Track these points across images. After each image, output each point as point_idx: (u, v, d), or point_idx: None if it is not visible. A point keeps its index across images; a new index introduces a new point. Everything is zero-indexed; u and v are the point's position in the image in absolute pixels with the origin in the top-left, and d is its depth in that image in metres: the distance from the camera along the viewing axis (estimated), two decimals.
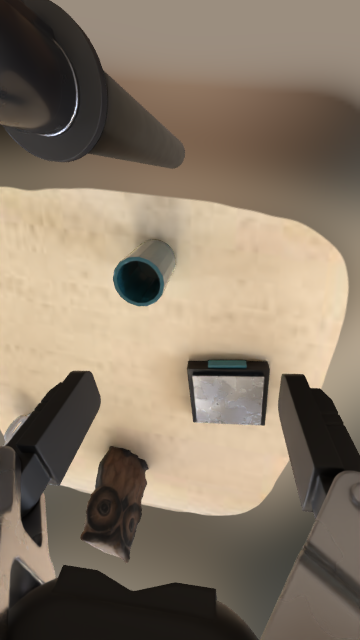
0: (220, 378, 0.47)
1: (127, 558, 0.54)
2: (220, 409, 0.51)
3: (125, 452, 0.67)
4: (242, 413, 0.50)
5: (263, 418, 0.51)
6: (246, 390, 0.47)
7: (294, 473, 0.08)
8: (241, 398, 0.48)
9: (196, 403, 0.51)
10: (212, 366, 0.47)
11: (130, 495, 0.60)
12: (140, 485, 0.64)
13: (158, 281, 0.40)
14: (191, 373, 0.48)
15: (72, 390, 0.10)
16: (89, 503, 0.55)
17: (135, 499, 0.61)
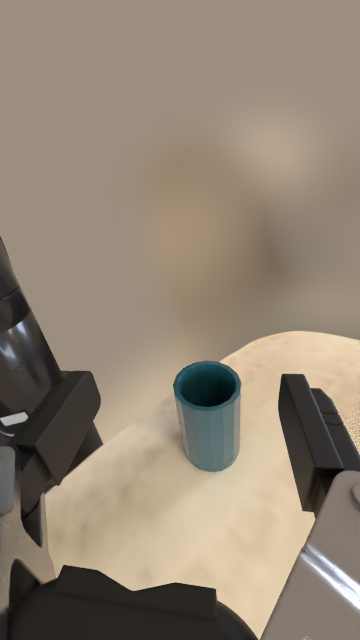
0: None
1: None
2: None
3: None
4: None
5: None
6: None
7: (294, 473, 0.08)
8: None
9: None
10: None
11: None
12: None
13: None
14: None
15: (72, 390, 0.10)
16: None
17: None
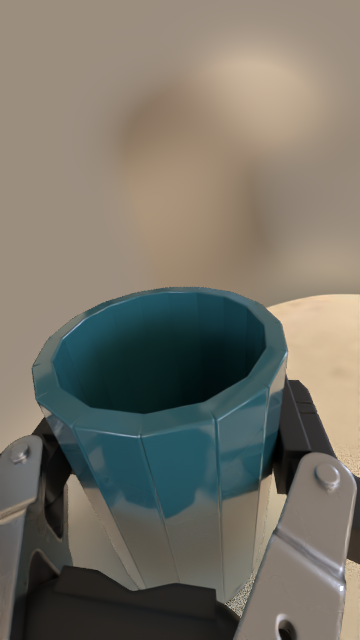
0: None
1: None
2: None
3: None
4: None
5: None
6: None
7: None
8: None
9: None
10: None
11: None
12: None
13: None
14: None
15: None
16: None
17: None
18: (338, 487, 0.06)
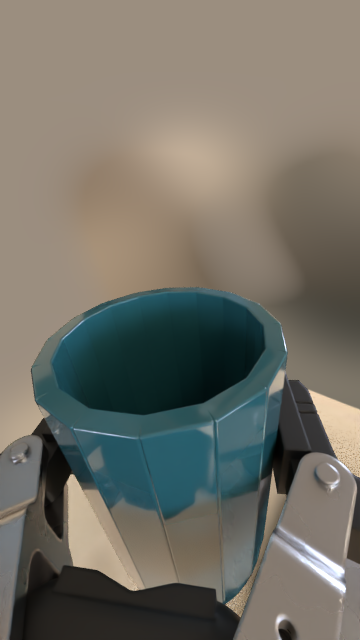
0: None
1: None
2: None
3: None
4: None
5: None
6: None
7: None
8: None
9: None
10: None
11: None
12: None
13: None
14: None
15: None
16: None
17: None
18: (338, 487, 0.06)
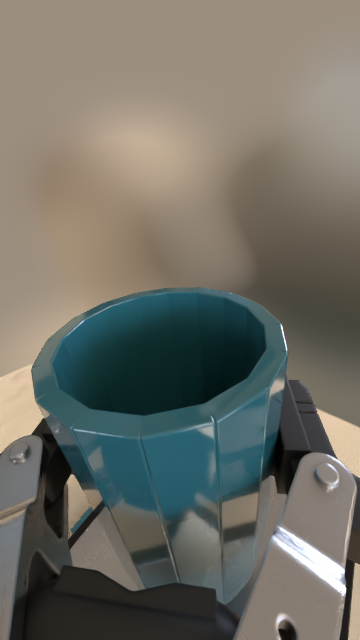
0: None
1: None
2: None
3: None
4: (267, 538, 0.15)
5: None
6: None
7: None
8: None
9: None
10: (82, 520, 0.18)
11: None
12: None
13: None
14: None
15: None
16: None
17: None
18: (338, 487, 0.06)
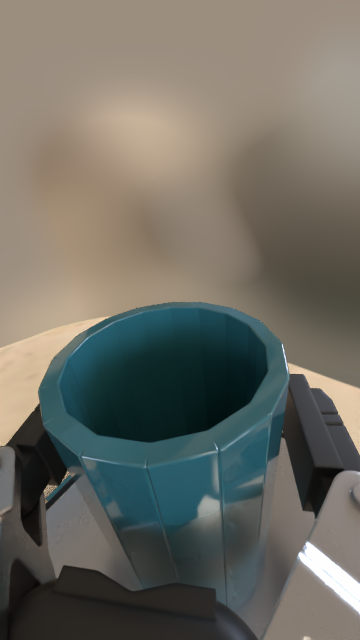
0: None
1: None
2: None
3: None
4: (276, 501, 0.12)
5: None
6: None
7: (294, 473, 0.08)
8: None
9: None
10: (60, 488, 0.15)
11: None
12: None
13: None
14: None
15: None
16: None
17: None
18: None
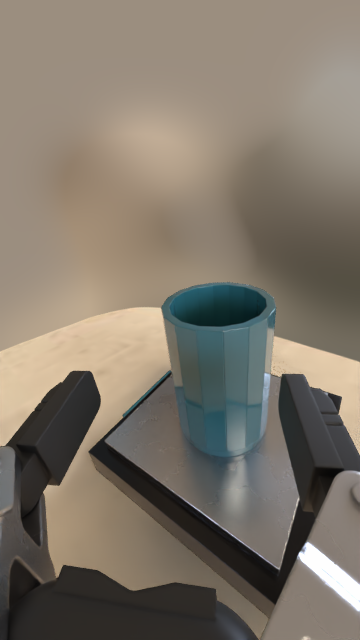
0: (153, 398, 0.22)
1: None
2: None
3: None
4: (273, 407, 0.20)
5: None
6: None
7: (294, 473, 0.08)
8: None
9: (183, 493, 0.15)
10: (130, 410, 0.23)
11: None
12: None
13: None
14: (104, 450, 0.19)
15: (72, 390, 0.10)
16: None
17: None
18: None
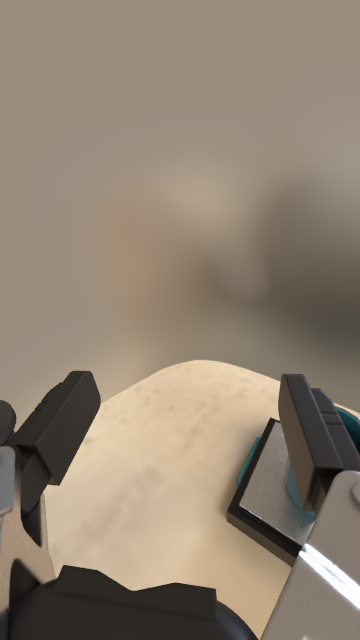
0: (260, 467, 0.32)
1: None
2: None
3: None
4: None
5: None
6: None
7: (294, 473, 0.08)
8: None
9: None
10: (241, 474, 0.32)
11: None
12: None
13: None
14: (238, 510, 0.28)
15: (72, 390, 0.10)
16: None
17: None
18: None
